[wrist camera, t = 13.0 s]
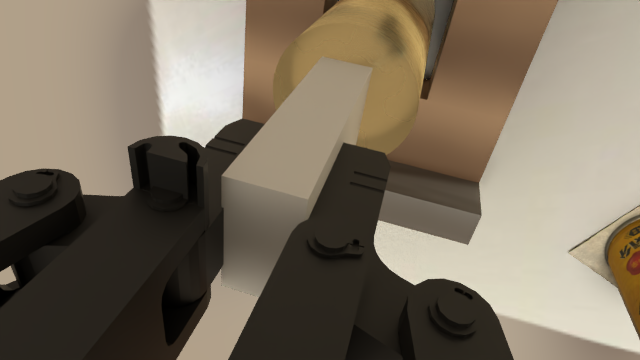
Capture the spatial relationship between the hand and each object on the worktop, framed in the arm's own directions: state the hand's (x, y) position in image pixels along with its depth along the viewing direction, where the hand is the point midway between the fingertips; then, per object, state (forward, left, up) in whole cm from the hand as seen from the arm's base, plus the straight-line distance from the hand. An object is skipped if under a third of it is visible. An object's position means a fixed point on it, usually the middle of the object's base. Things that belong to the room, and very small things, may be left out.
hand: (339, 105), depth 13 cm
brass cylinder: (0, 0, -12) cm, 12 cm away
